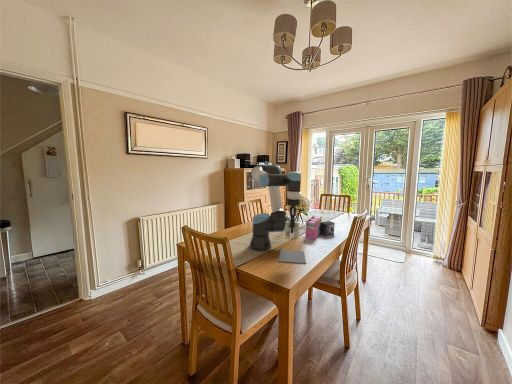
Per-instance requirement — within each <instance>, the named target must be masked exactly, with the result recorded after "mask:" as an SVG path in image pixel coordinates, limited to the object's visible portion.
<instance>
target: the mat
mask: <svg viewBox="0 0 512 384" xmlns="http://www.w3.org/2000/svg"><path fill="white" fill-rule="evenodd" d="M278 262H279V263H290V264H299V265H300V264H301V265H307V261H306V255H305V251H304V250H295V249H293V250H292V249H279V255H278Z"/></svg>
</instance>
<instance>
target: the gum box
mask: <svg viewBox="0 0 512 384" xmlns="http://www.w3.org/2000/svg"><path fill="white" fill-rule="evenodd" d="M321 222H323V219H322V216H320V217H318V216H315V215H313V216H311V217H310V218H309V219H307V220H306V221H305V238H306V239H310V240H316V239H317V237H318V236H319V235H321V234H320V224H321Z"/></svg>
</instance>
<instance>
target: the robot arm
mask: <svg viewBox="0 0 512 384" xmlns="http://www.w3.org/2000/svg"><path fill="white" fill-rule="evenodd" d="M250 176H251V177H252V178H253V180H255V181H258V185H259V186H260V187H264V188H265V187H268V192H269V200H270V201H269V202H270V208H271V212H270V214H269V213H266V212H264V213H262V212H261V213H257V214H255V215H254V216H253V217H252V223H251V224H252V236H251V239H250V242H249V248H250V249H251V250H254V251H268V250H270V249H271V248H272V242H271V240H270V233H278V232H279V233H280V232H281V233H283V232H285V225H286V221H290V226H289V227H290V236H289V238H294V228H295V226H294V224H295V222H296V221H295V219H296V216H297V215H296V213H297V207H299V206H300V204H301V195H302V193H301V185H302V184H301V183H302V173H301V172H300V171H288V173H284V174H283V171H282V168H281V166H280V165H278V164H277V165H276V164H272V165H271V164H259V165H256V166H254V167H253V168H252V169H251V171H250ZM280 187H287V190H286V197H287V199H286V205H287V206H290V207H289V214H287V211H286V210H284V206H283V199H282V194H281V188H280Z"/></svg>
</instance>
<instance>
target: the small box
mask: <svg viewBox="0 0 512 384" xmlns="http://www.w3.org/2000/svg"><path fill="white" fill-rule="evenodd" d="M319 235H321V236H323V237H327V236H333V235H335V222H333V221H331V220H328V221H327V220H326V221H322V222H321V224H320V234H319Z"/></svg>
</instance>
